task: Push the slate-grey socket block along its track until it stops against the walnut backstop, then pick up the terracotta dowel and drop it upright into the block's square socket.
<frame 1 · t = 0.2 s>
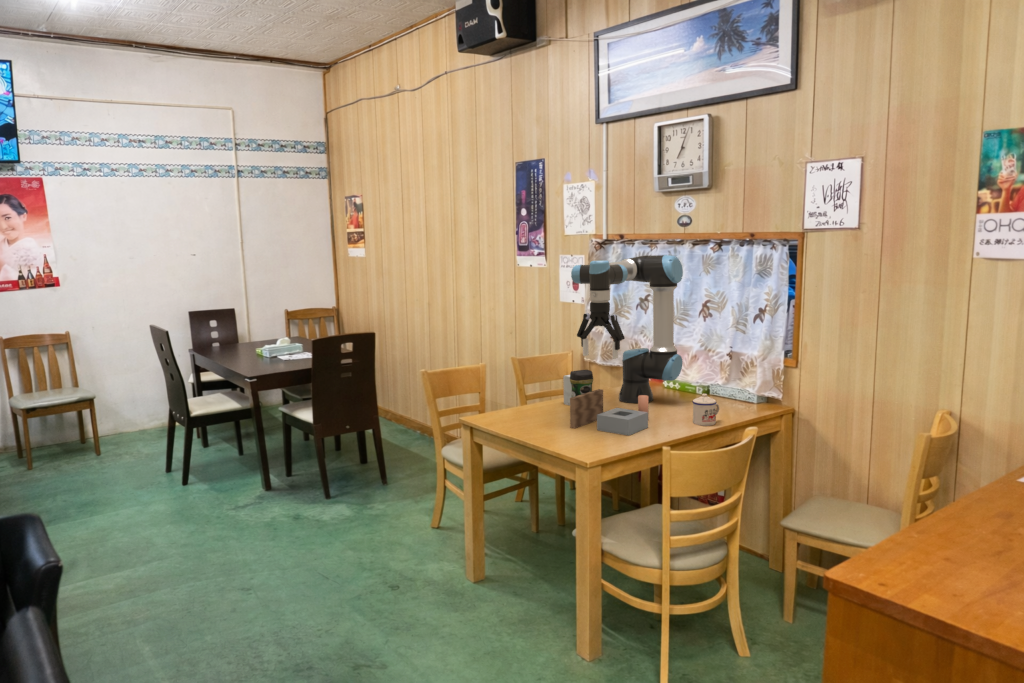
hand: (600, 357, 275), 28 cm above the table, tool pointing down, fingers open, 13 cm apart
coffee jar: (582, 414, 302), on the table
teacup with lid: (707, 423, 281), on the table
socket block: (622, 421, 275), point 3 cm above the table, slide at 8.0 cm
dowel: (643, 420, 287), on the table
small box: (575, 404, 320), on the table
walnut backstop: (587, 423, 286), on the table
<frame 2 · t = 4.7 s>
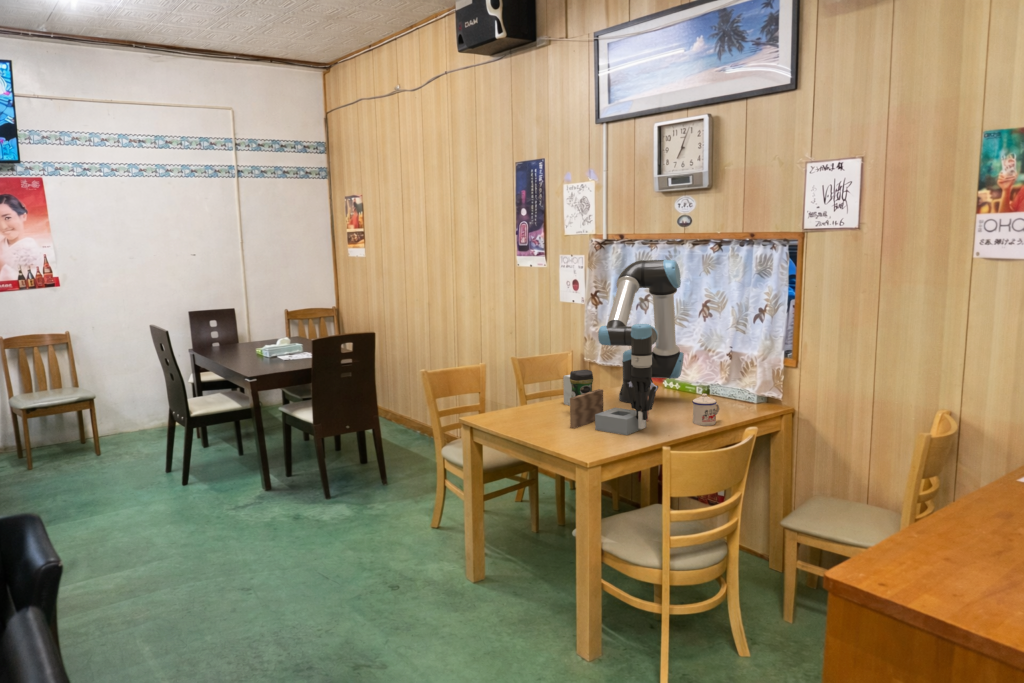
hand: (641, 427, 269), 2 cm above the table, tool pointing down, fingers closed
socket block: (620, 420, 275), point 3 cm above the table, slide at 7.2 cm, touching gripper
everything else where it was.
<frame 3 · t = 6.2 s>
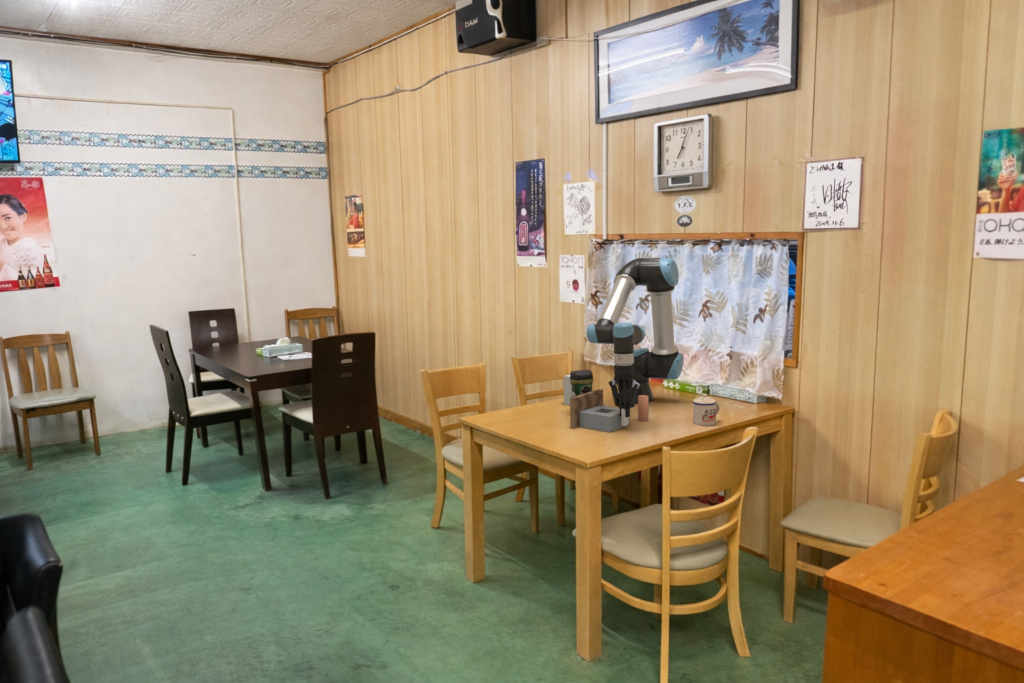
hand: (625, 425, 274), 2 cm above the table, tool pointing down, fingers closed
socket block: (604, 418, 280), point 3 cm above the table, slide at -0.1 cm, touching gripper
everything else where it was.
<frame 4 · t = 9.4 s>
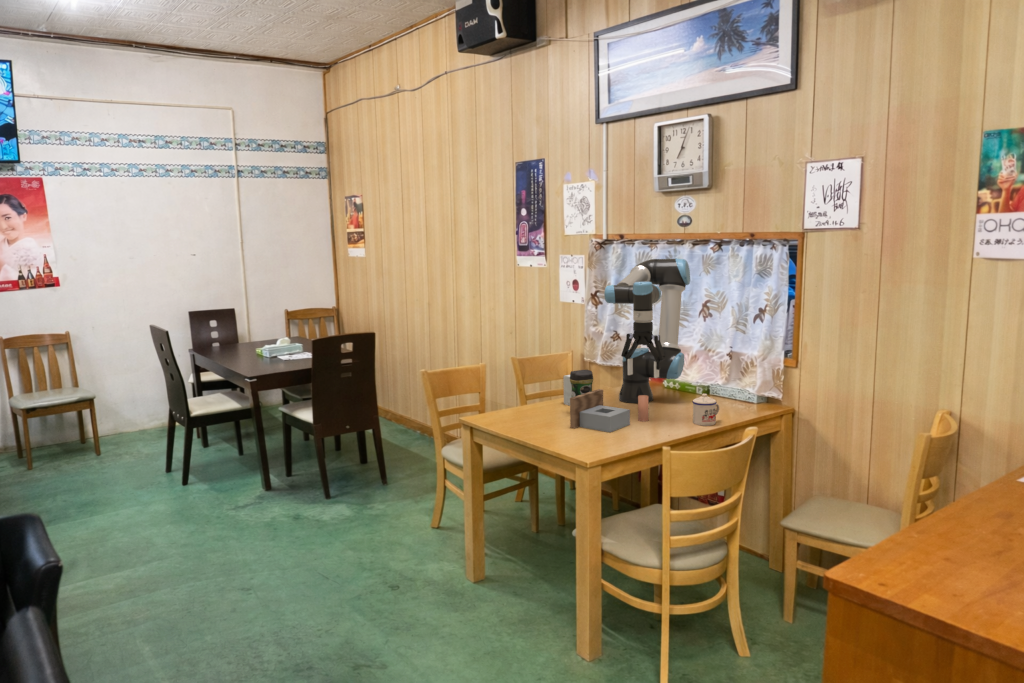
hand: (643, 376, 285), 18 cm above the table, tool pointing down, fingers open, 11 cm apart
socket block: (604, 418, 280), point 3 cm above the table, slide at 0.0 cm
everything else where it was.
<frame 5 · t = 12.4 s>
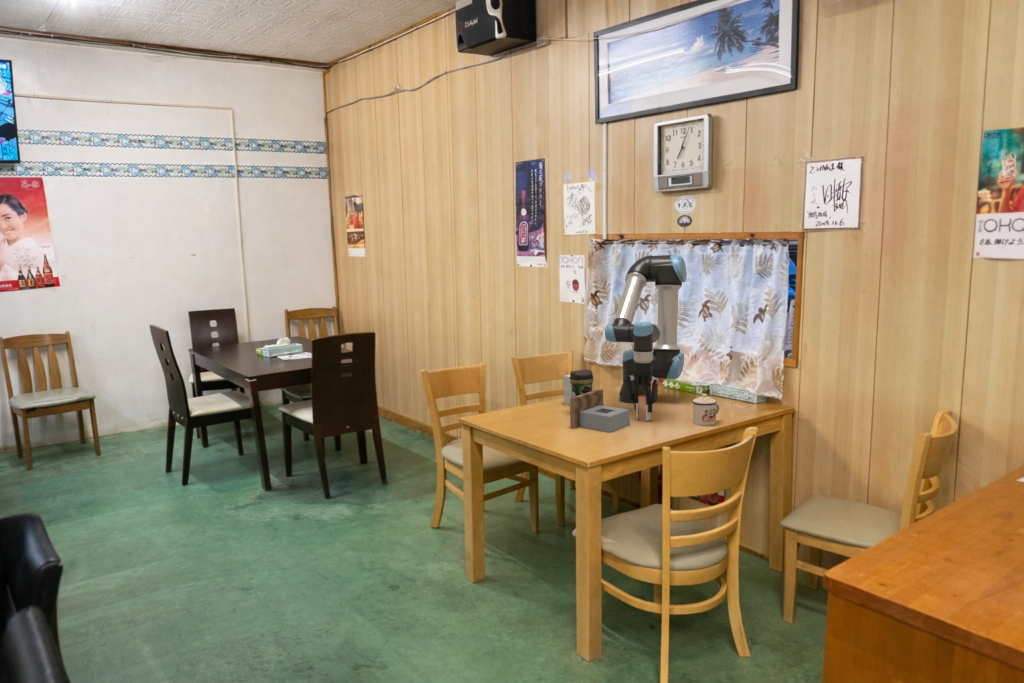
hand: (643, 419, 287), 1 cm above the table, tool pointing down, fingers closed on dowel, 4 cm apart
dowel: (643, 420, 287), on the table, touching gripper
everything else where it was.
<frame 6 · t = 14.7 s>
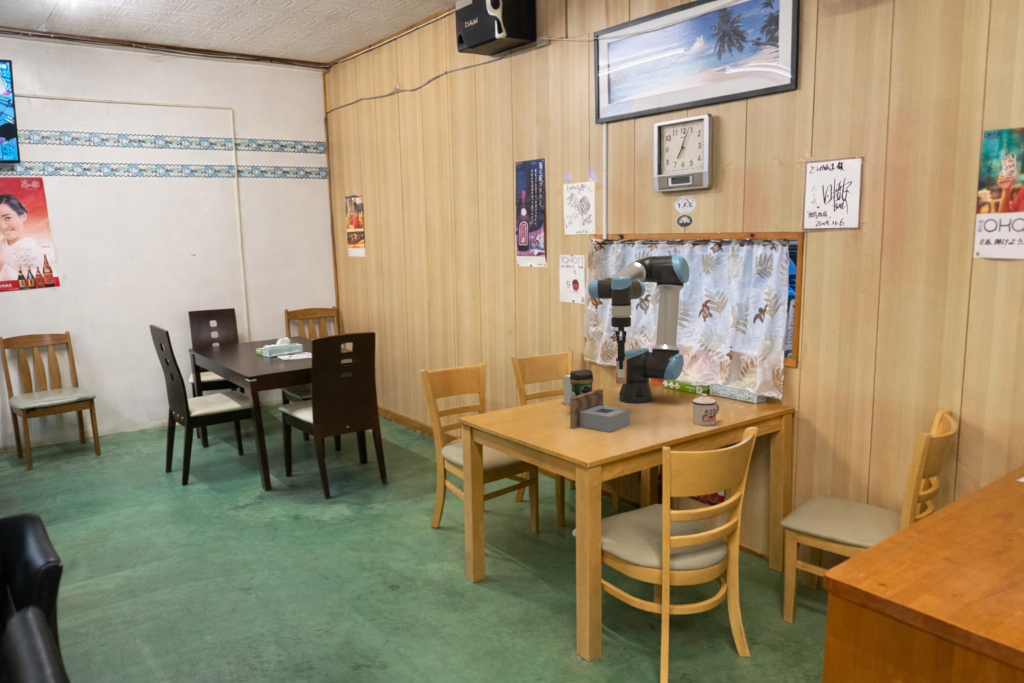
hand: (621, 376, 280), 19 cm above the table, tool pointing down, fingers closed on dowel, 3 cm apart
dowel: (621, 382, 280), point 17 cm above the table, touching gripper
everything else where it was.
when the fingers open (8 cm above the table, at t = 17.4 s): dowel drops 4 cm, resting on socket block.
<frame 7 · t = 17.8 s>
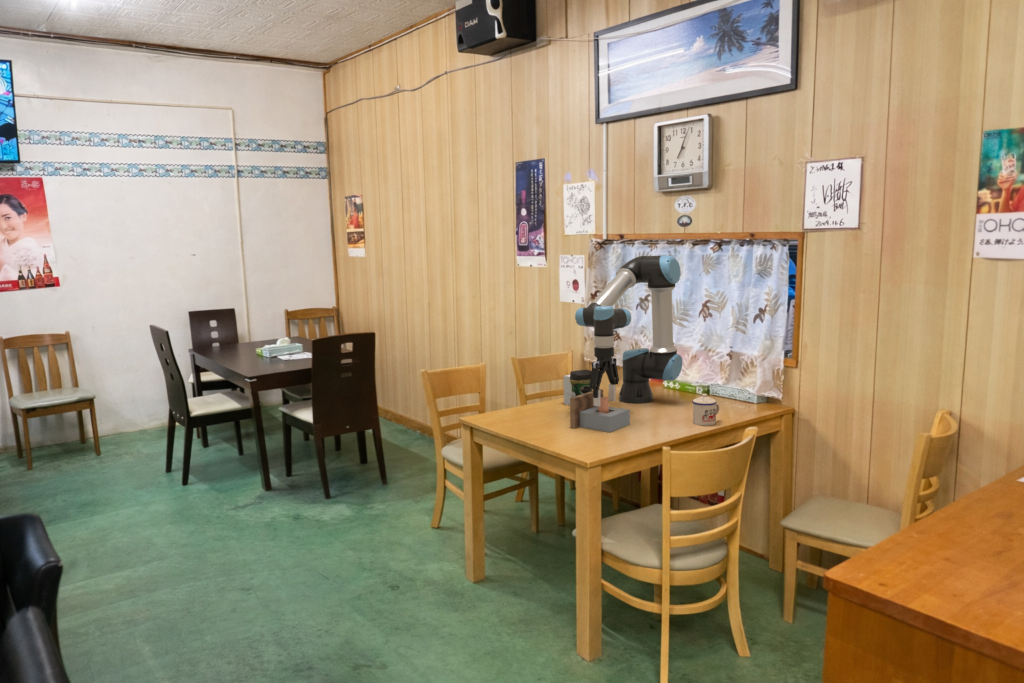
hand: (604, 403, 279), 9 cm above the table, tool pointing down, fingers open, 10 cm apart
socket block: (604, 418, 280), point 3 cm above the table, slide at 0.0 cm, touching dowel
dowel: (604, 423, 280), point 1 cm above the table, touching socket block
everything else where it was.
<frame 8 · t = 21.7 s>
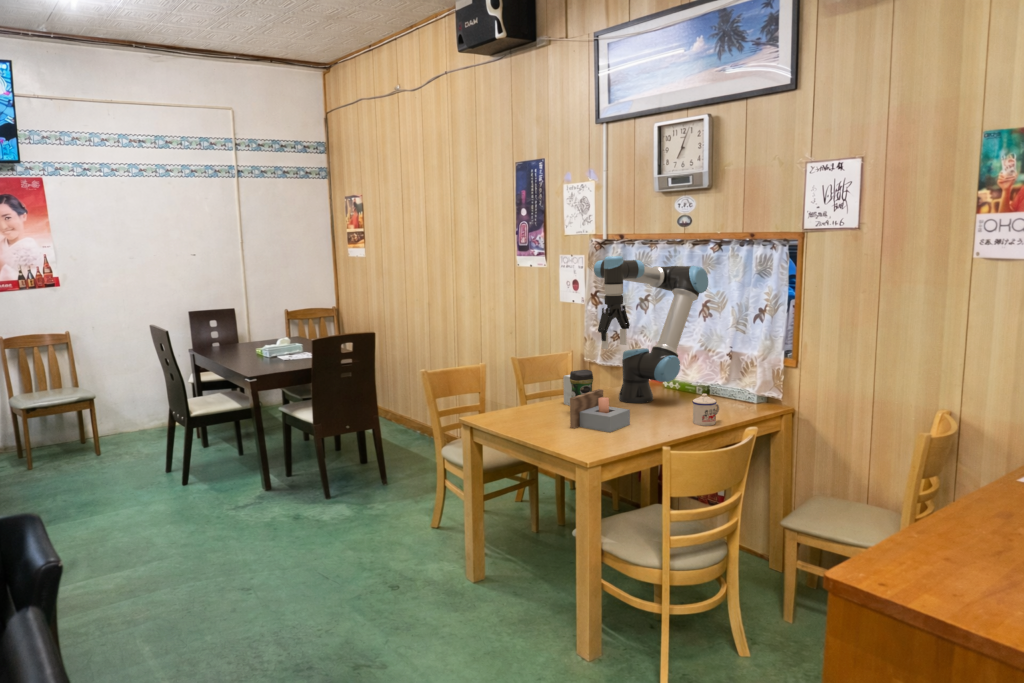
hand: (614, 346, 293), 29 cm above the table, tool pointing down, fingers open, 13 cm apart
nothing on the table moved.
at the end: socket block slide at 0.0 cm; dowel 0.5 cm from the target spot, point 1.2 cm above the table; dowel tilted 1° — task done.
